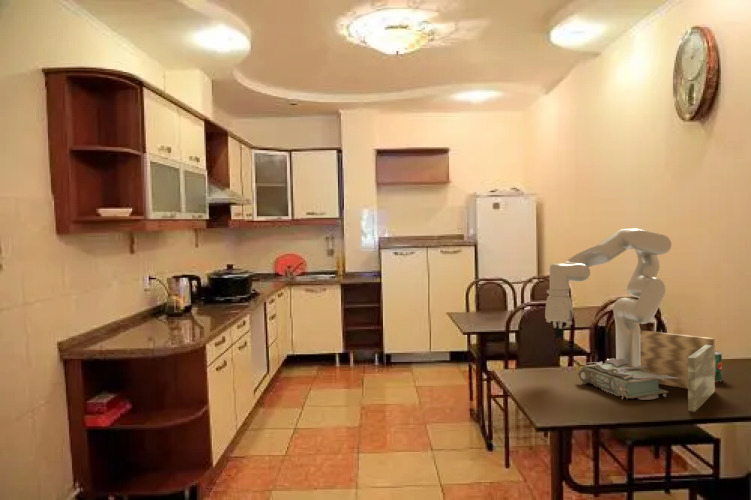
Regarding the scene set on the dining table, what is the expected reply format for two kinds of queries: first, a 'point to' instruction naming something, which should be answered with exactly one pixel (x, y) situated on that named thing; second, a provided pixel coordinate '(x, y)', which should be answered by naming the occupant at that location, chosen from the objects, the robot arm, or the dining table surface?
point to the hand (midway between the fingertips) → (559, 337)
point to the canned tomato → (718, 366)
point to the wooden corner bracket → (681, 363)
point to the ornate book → (623, 379)
